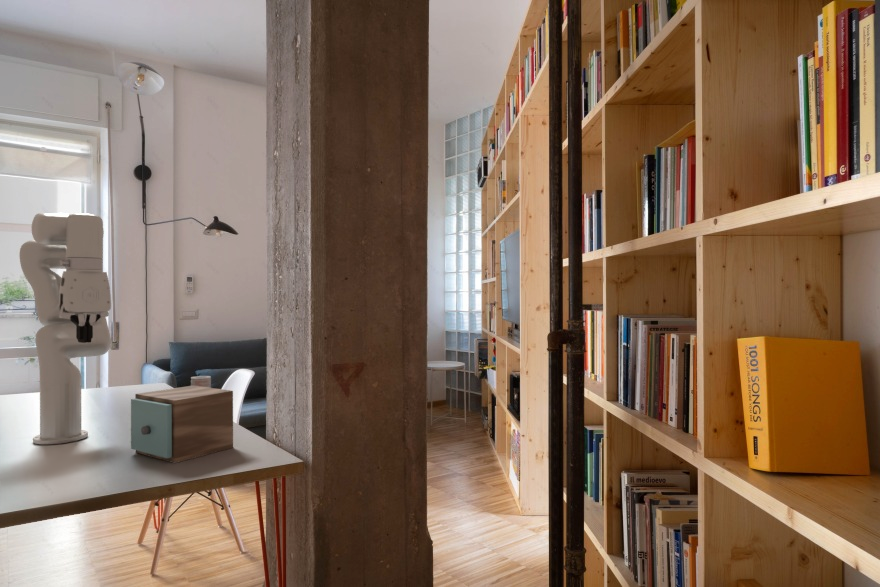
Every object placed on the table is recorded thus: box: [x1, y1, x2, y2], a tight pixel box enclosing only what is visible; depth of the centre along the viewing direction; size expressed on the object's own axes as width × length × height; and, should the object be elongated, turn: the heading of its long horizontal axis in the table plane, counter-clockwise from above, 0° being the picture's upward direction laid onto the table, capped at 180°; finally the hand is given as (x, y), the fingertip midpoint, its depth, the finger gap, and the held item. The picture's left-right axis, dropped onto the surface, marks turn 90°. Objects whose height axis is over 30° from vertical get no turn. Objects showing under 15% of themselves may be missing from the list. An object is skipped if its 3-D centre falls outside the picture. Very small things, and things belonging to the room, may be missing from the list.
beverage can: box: [190, 375, 212, 388], centre depth 172 cm, size 6×6×15 cm
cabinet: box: [134, 385, 234, 463], centre depth 146 cm, size 17×16×15 cm
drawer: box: [130, 398, 172, 458], centre depth 144 cm, size 16×16×12 cm
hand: (84, 342), depth 139 cm, fingers closed
